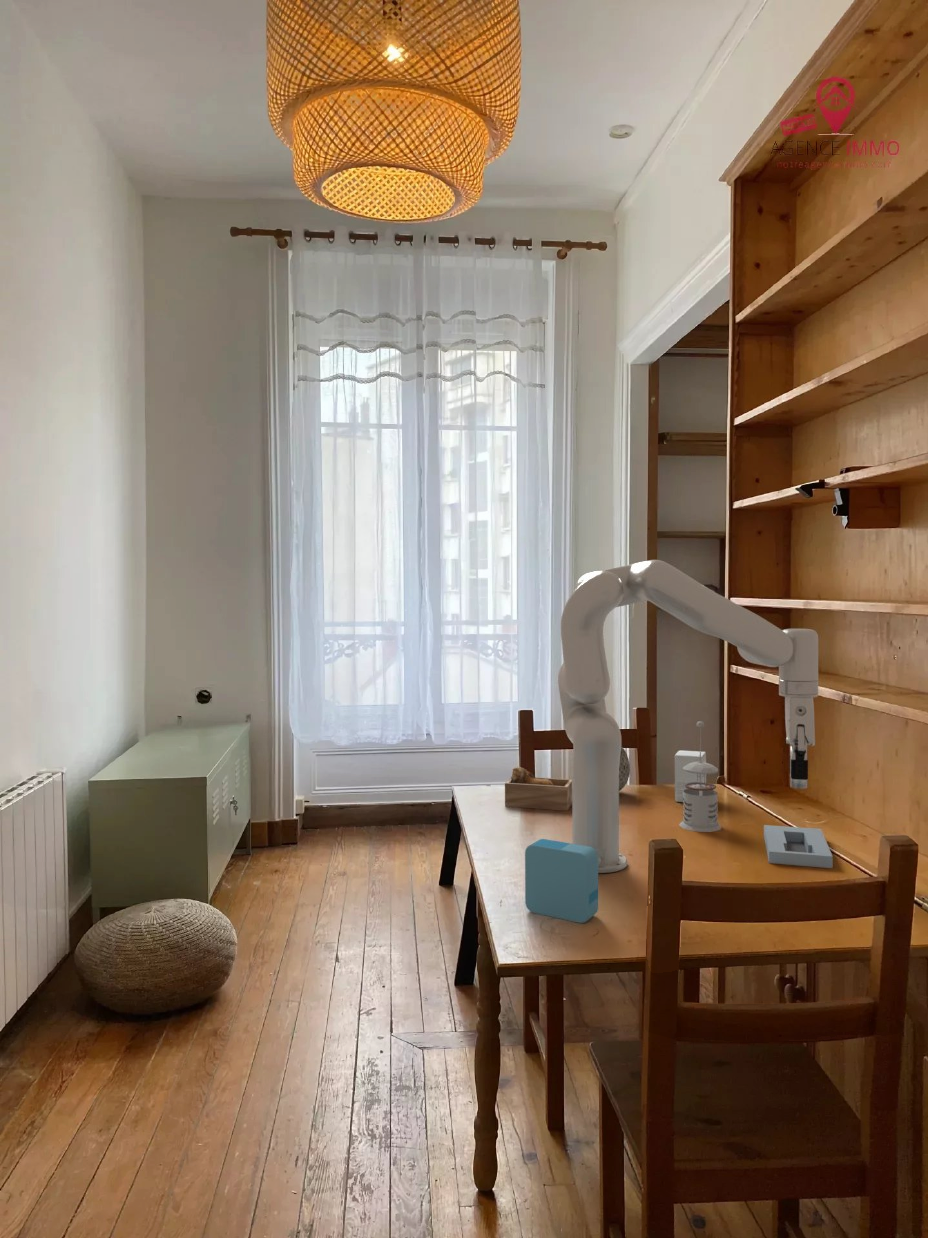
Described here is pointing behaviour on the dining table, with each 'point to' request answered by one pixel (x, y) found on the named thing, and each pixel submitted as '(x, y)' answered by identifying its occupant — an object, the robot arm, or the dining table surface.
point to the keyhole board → (797, 846)
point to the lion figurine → (527, 777)
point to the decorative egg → (623, 769)
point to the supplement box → (685, 777)
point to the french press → (700, 798)
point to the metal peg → (793, 782)
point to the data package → (561, 880)
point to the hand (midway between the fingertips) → (798, 776)
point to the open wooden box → (540, 794)
